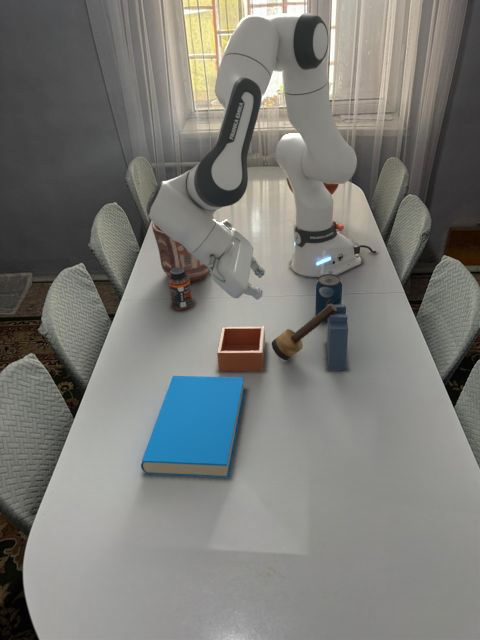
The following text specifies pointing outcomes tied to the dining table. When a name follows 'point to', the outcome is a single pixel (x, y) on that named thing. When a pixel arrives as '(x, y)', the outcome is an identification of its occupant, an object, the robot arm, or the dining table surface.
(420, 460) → the dining table surface
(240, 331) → the caddy
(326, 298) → the soda can
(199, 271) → the pottery
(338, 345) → the stand
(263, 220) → the dining table surface
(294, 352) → the brush
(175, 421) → the book
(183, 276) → the supplement bottle
